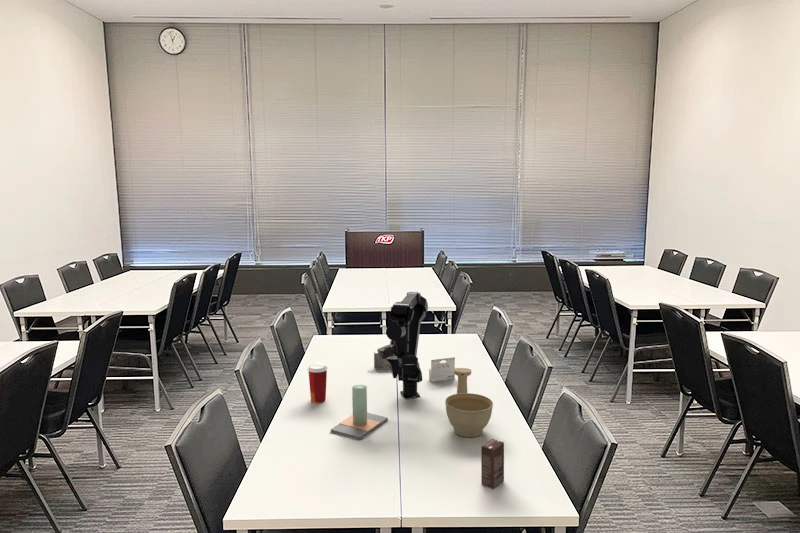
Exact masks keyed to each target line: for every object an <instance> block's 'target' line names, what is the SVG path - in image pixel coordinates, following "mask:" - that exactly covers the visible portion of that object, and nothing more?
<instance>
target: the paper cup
mask: <svg viewBox="0 0 800 533" xmlns="http://www.w3.org/2000/svg"><path fill="white" fill-rule="evenodd" d="M307 371H308V382H309V394H310V395H309V396H310V401H311V403H313V404H321V403H324V402H325V401H326V400H327V399H326V398H327V397H326V395H327V374H328V373H327V372H328V366H327V364H325V363H321V362H314V363H311V364H309V365H308V367H307Z"/></svg>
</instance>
